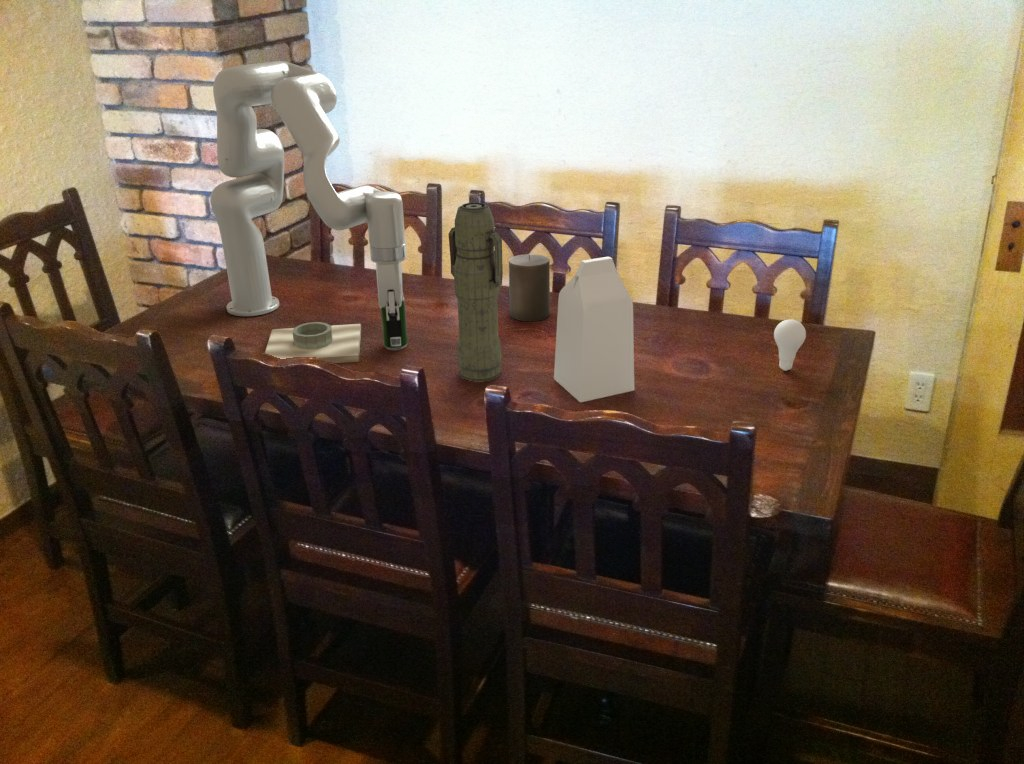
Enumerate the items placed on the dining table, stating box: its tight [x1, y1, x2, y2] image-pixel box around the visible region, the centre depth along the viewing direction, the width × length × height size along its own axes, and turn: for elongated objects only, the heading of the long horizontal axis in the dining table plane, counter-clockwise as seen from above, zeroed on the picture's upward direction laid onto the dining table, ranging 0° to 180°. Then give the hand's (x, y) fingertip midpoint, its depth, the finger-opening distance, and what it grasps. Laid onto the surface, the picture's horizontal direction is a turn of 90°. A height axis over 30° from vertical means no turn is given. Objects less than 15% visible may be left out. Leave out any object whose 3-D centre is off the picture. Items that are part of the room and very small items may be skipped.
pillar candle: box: [508, 253, 551, 322], centre depth 204 cm, size 10×10×15 cm
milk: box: [553, 256, 635, 403], centre depth 167 cm, size 12×12×26 cm
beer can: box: [379, 292, 409, 351], centre depth 189 cm, size 5×5×12 cm
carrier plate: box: [264, 321, 362, 364], centre depth 190 cm, size 18×20×4 cm
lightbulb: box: [773, 318, 807, 372], centre depth 174 cm, size 6×6×11 cm
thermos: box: [448, 202, 504, 383], centre depth 170 cm, size 9×12×35 cm
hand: (394, 330), depth 190 cm, fingers closed on beer can, 5 cm apart
